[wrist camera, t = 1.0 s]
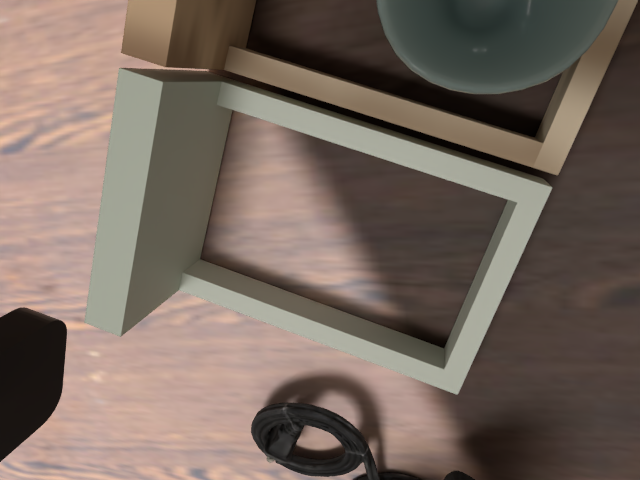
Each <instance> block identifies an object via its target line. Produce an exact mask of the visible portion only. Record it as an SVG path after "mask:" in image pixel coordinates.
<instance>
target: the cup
mask: <svg viewBox="0 0 640 480" xmlns="http://www.w3.org/2000/svg"><path fill="white" fill-rule="evenodd" d="M376 2H377V10H378V15H379V19H380V22H381V25H382V28H383V31H384V34H385V37H386V39H387V40H388V42H389V44H390V46H391V47H392V49H393V51H394V53H395V54H396V56H397V57H398V58H399V59H400V60H401V61H402V62H403V63H404V64H405V65H406V66H407V67H408V68H409V69H410V70H411V71H412V72H413V73H415V74H417V75H418V76H420V77H421V78H423V79H424V80H426V81H428V82H429V83H432V84H434V85H437V86H440V87H442V88H445V89H447V90H451V91H456V92H461V93H467V94H477V95H497V94H504V93H510V92H516V91H521V90H524V89H527V88H530V87H533V86H536V85H538V84H541V83H544V82H546V81H548V80H550V79H551V78H553V77H555V76H556V75H558V74H560V73H561V72H563V71H565V70H566V69H568V68H569V67H570V66H571V65H572V64H573V63H575V62H576V61H577V60H578V59H579V58H580V57H581V56H582V55H583V54H584V53H585V52H587V51H588V49H589V48H590V47H591V45H592V44H593V43H594V41H595V40H596V38H597V37H598V36H599V34H600V33H601V32H602V30H603V29H604V28H605V26H606V24H607V22H608V20H609V18H610V16H611V14H612V12H613V10H614V8H615V6H616V4H617V2H618V0H376Z"/></svg>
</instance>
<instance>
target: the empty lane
mask: <svg viewBox="0 0 640 480" xmlns="http://www.w3.org/2000/svg"><path fill="white" fill-rule="evenodd" d="M232 110H235V111H238V112H241V113H244V114H247V115H250V116H253V117H256V118H259V119H262V120H265V121H268V122H272V123H275V124H278V125H281V126H284V127H287V128H290V129H293V130H296V131H299V132H302V133H305V134H308V135H311V136H314V137H318V138H321V139H324V140H327V141H330V142H333V143H336V144H339V145H342V146H345V147H348V148H351V149H354V150H357V151H360V152H364V153H367V154H370V155H373V156H376V157H379V158H382V159H385V160H388V161H391V162H394V163H397V164H400V165H403V166H406V167H410V168H413V169H416V170H419V171H422V172H425V173H428V174H431V175H434V176H437V177H440V178H443V179H446V180H449V181H452V182H456V183H459V184H462V185H465V186H468V187H471V188H474V189H477V190H480V191H483V192H486V193H489V194H492V195H495V196H498V197H502V198H505V199H508V201H507V203H506V206H505V208H504V210H503V213H502V215H501V217H500V220H499V222H498V224H497V227H496V229H495V231H494V234H493V236H492V238H491V241H490V243H489V245H488V248H487V250H486V252H485V255H484V257H483V259H482V262H481V264H480V266H479V269H478V271H477V273H476V275H475V278H474V280H473V282H472V285H471V287H470V289H469V292H468V294H467V296H466V299H465V301H464V303H463V306H462V308H461V310H460V313H459V315H458V317H457V320H456V322H455V324H454V327H453V329H452V331H451V334H450V336H449V338H448V341H447V343H446V345H445V348H441V347H439V346H436V345H433V344H430V343H428V342H425V341H422V340H419V339H417V338H414V337H411V336H409V335H406V334H403V333H400V332H398V331H395V330H392V329H389V328H387V327H384V326H381V325H378V324H376V323H373V322H370V321H368V320H365V319H362V318H359V317H357V316H354V315H351V314H348V313H346V312H343V311H340V310H337V309H335V308H332V307H329V306H327V305H324V304H321V303H318V302H316V301H313V300H310V299H307V298H305V297H302V296H299V295H297V294H294V293H291V292H288V291H286V290H283V289H280V288H277V287H275V286H272V285H269V284H266V283H264V282H261V281H258V280H256V279H253V278H250V277H247V276H245V275H242V274H239V273H236V272H234V271H231V270H228V269H225V268H223V267H220V266H217V265H215V264H212V263H209V262H206V261H204V260H201V259H200V257H201V253H202V248H203V244H204V239H205V234H206V230H207V225H208V221H209V216H210V211H211V207H212V202H213V197H214V193H215V188H216V184H217V179H218V174H219V170H220V165H221V161H222V156H223V151H224V147H225V142H226V138H227V133H228V128H229V124H230V119H231V114H232ZM551 190H552V187H551V186H550V185H549V184H548V183H547V182H546V181H545V180H544V179H543V178H540V177H537V176H534V175H531V174H528V173H524V172H521V171H518V170H515V169H512V168H509V167H506V166H502V165H499V164H496V163H493V162H490V161H487V160H484V159H480V158H477V157H474V156H471V155H468V154H465V153H462V152H458V151H455V150H452V149H449V148H446V147H443V146H440V145H437V144H433V143H430V142H427V141H424V140H421V139H418V138H415V137H411V136H408V135H405V134H402V133H399V132H396V131H393V130H389V129H386V128H383V127H380V126H377V125H374V124H371V123H367V122H364V121H361V120H358V119H355V118H352V117H349V116H345V115H342V114H339V113H336V112H333V111H330V110H327V109H324V108H320V107H317V106H314V105H311V104H308V103H305V102H302V101H298V100H295V99H292V98H289V97H286V96H283V95H280V94H276V93H273V92H270V91H267V90H264V89H261V88H258V87H254V86H251V85H248V84H245V83H242V82H239V81H236V80H232V79H229V78H226V77H223V76H220V75H217V74H214V73H211V72H207V71H191V70H164V69H136V68H119V73H118V80H117V87H116V95H115V102H114V109H113V117H112V124H111V131H110V139H109V146H108V153H107V161H106V168H105V175H104V183H103V190H102V197H101V205H100V212H99V219H98V227H97V234H96V241H95V249H94V256H93V264H92V271H91V278H90V286H89V293H88V300H87V308H86V315H85V322H84V323H87V324H89V325H92V326H94V327H97V328H99V329H102V330H105V331H107V332H110V333H112V334H115V335H117V336H120V337H121V336H122V335H123V334H125V333H126V332H127V331H128V330H130V329H131V328H132V327H133V326H135V325H136V324H137V323H138V322H140V321H141V320H142V319H143V318H145V317H146V316H147V315H148V314H150V313H151V312H152V311H153V310H155V309H156V308H157V307H158V306H160V305H161V304H162V303H163V302H165V301H166V300H167V299H168V298H170V297H171V296H172V295H173V294H174V293H176V292H177V291H178V290H180V291H183V292H185V293H188V294H191V295H193V296H196V297H199V298H201V299H204V300H207V301H209V302H212V303H215V304H217V305H220V306H223V307H225V308H228V309H231V310H233V311H236V312H238V313H241V314H244V315H246V316H249V317H252V318H254V319H257V320H260V321H262V322H265V323H268V324H270V325H273V326H276V327H278V328H281V329H284V330H286V331H289V332H292V333H294V334H297V335H300V336H302V337H305V338H308V339H310V340H313V341H316V342H318V343H321V344H324V345H326V346H329V347H332V348H334V349H337V350H340V351H342V352H345V353H348V354H350V355H353V356H356V357H358V358H361V359H364V360H366V361H369V362H372V363H374V364H377V365H380V366H382V367H385V368H388V369H390V370H393V371H396V372H398V373H401V374H403V375H406V376H409V377H411V378H414V379H417V380H419V381H422V382H425V383H427V384H430V385H433V386H435V387H438V388H441V389H443V390H446V391H449V392H451V393H454V394H457V395H458V393H459V390H460V388H461V386H462V384H463V382H464V379H465V377H466V375H467V373H468V371H469V369H470V366H471V364H472V362H473V360H474V358H475V355H476V353H477V351H478V349H479V347H480V345H481V342H482V340H483V338H484V336H485V334H486V331H487V329H488V327H489V325H490V323H491V321H492V318H493V316H494V314H495V312H496V310H497V307H498V305H499V303H500V301H501V299H502V297H503V294H504V292H505V290H506V288H507V286H508V283H509V281H510V279H511V277H512V275H513V273H514V270H515V268H516V266H517V264H518V262H519V259H520V257H521V255H522V253H523V251H524V248H525V246H526V244H527V242H528V240H529V238H530V235H531V233H532V231H533V229H534V227H535V224H536V222H537V220H538V218H539V216H540V214H541V211H542V209H543V207H544V205H545V203H546V200H547V198H548V196H549V194H550V192H551Z"/></svg>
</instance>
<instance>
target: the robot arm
mask: <svg viewBox="0 0 640 480" xmlns="http://www.w3.org/2000/svg"><path fill="white" fill-rule="evenodd" d="M66 339H67V328H66V325H65V323H64V322H62V321H61V320H58V319H55V318H52V317H50V316H47V315H44V314H42V313H39V312H36V311H33V310H31V309H28V308H18V309H15V310H13V311H11V312H10V313H8V314H6V315H4V316H2V317H0V462H1V461H2V460H3V459H4V458H5V457H6V456H7V455H9V454H10V453H11V452H12V451H13V450H14V449H15V448H17V447H18V446H19V445H20V444H21V443H22V442H23V441H25V440H26V439H27V438H28V437H29V436H30V435H32V434H33V433H34V432H35V431H36V430H37V429H38V428H40V427H41V426H42V425H43V424H44V423H45V422H46V421H47V420H48V418H49V417H50V416H51V414H52V413H53V411H54V410H55V408H56V406H57V404H58V402H59V400H60V397H61V393H62V387H63V375H64V363H65V351H66Z"/></svg>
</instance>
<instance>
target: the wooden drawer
mask: <svg viewBox="0 0 640 480" xmlns="http://www.w3.org/2000/svg"><path fill="white" fill-rule="evenodd" d="M637 2H638V0H618V2H617V4H616V6H615V8H614V10H613V12H612V14H611V16H610V18H609V20H608V22H607V24H606V26H605V28H604V29H603V30H602V32H601V33H600V34H599V36H598V37H597V38H596V40H595V41H594V43H593V44H592V45H591V47H590V48H589V49H588V51H587V52H585V53H584V54H583V55H582V56H581V57H580V58H579V59H578V60H577V61H576V62H575V63H573V64H572V65H571V66H570V67H569V68H568V69H566V70H565V71H563V73H562V76H561V78H560V80H559V82H558V85H557V87H556V89H555V92H554V94H553V96H552V99H551V101H550V103H549V106H548V108H547V110H546V113H545V115H544V117H543V120H542V122H541V124H540V127H539V129H538V131H537V134H536V136H535V138H534V137H530V136H527V135H524V134H521V133H517V132H514V131H511V130H508V129H505V128H501V127H498V126H495V125H492V124H488V123H485V122H482V121H479V120H475V119H472V118H469V117H466V116H463V115H459V114H456V113H453V112H450V111H446V110H443V109H440V108H437V107H434V106H430V105H427V104H424V103H421V102H417V101H414V100H411V99H408V98H404V97H401V96H398V95H395V94H392V93H388V92H385V91H382V90H379V89H375V88H372V87H369V86H366V85H363V84H359V83H356V82H353V81H350V80H346V79H343V78H340V77H337V76H333V75H330V74H327V73H324V72H321V71H317V70H314V69H311V68H308V67H304V66H301V65H298V64H295V63H291V62H288V61H285V60H282V59H279V58H275V57H272V56H269V55H266V54H262V53H259V52H256V51H253V50H250V49H246V45H247V41H248V36H249V31H250V27H251V22H252V18H253V13H254V8H255V4H256V0H128V6H127V14H126V21H125V28H124V36H123V43H122V51H121V53H123V54H126V55H129V56H132V57H136V58H139V59H142V60H145V61H148V62H151V63H154V64H157V65H160V66H164V67H173V68H195V69H217V70H226V71H229V72H233V73H236V74H239V75H242V76H245V77H248V78H251V79H255V80H258V81H261V82H264V83H267V84H270V85H274V86H277V87H280V88H283V89H286V90H289V91H292V92H296V93H299V94H302V95H305V96H308V97H311V98H315V99H318V100H321V101H324V102H327V103H330V104H334V105H337V106H340V107H343V108H346V109H349V110H352V111H356V112H359V113H362V114H365V115H368V116H371V117H375V118H378V119H381V120H384V121H387V122H390V123H393V124H397V125H400V126H403V127H406V128H409V129H412V130H416V131H419V132H422V133H425V134H428V135H431V136H435V137H438V138H441V139H444V140H447V141H450V142H453V143H457V144H460V145H463V146H466V147H469V148H472V149H476V150H479V151H482V152H485V153H488V154H491V155H494V156H498V157H501V158H504V159H507V160H510V161H513V162H517V163H520V164H523V165H526V166H529V167H532V168H536V169H539V170H542V171H545V172H548V173H551V174H554V175H558V174H559V172H560V170H561V168H562V166H563V163H564V161H565V159H566V157H567V155H568V152H569V150H570V148H571V146H572V144H573V142H574V139H575V137H576V135H577V133H578V131H579V128H580V126H581V124H582V122H583V120H584V118H585V115H586V113H587V111H588V109H589V107H590V104H591V102H592V100H593V98H594V96H595V93H596V91H597V89H598V87H599V85H600V83H601V80H602V78H603V76H604V74H605V72H606V69H607V67H608V65H609V63H610V61H611V59H612V56H613V54H614V52H615V50H616V48H617V45H618V43H619V41H620V39H621V37H622V35H623V32H624V30H625V28H626V26H627V24H628V21H629V19H630V17H631V15H632V13H633V11H634V8H635V6H636V4H637Z"/></svg>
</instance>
